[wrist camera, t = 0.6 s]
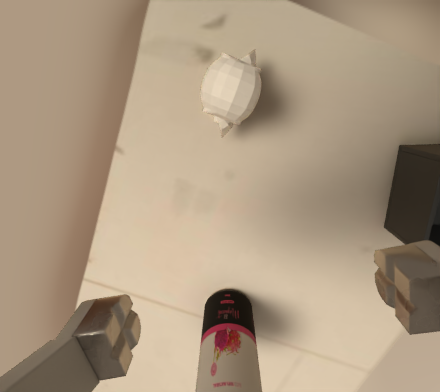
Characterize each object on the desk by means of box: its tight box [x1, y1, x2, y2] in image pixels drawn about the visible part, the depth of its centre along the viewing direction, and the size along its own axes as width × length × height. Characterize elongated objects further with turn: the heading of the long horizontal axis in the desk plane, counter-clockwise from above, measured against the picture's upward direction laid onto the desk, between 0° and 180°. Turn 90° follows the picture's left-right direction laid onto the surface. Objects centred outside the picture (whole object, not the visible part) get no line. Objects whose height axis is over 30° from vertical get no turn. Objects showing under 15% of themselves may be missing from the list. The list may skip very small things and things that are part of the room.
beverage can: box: [196, 290, 262, 392], centre depth 30 cm, size 7×7×15 cm
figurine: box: [200, 50, 261, 137], centre depth 23 cm, size 8×5×12 cm, turn 159°
